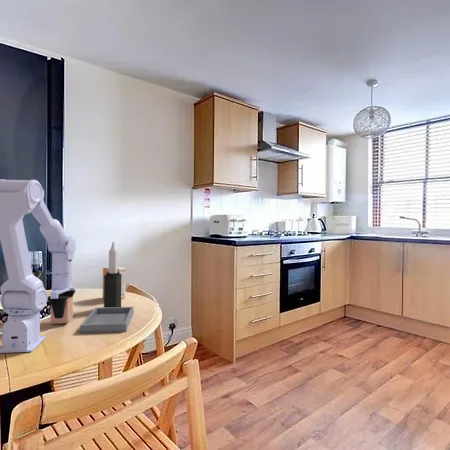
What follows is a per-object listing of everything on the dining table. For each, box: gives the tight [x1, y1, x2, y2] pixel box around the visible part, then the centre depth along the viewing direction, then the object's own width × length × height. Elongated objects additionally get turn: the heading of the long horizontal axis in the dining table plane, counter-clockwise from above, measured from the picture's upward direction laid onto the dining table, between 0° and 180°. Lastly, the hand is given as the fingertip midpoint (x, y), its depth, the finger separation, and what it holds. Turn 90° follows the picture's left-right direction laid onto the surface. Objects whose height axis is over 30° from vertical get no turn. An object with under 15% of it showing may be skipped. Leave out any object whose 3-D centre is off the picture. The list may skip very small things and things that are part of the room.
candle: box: [103, 241, 122, 307], centre depth 121 cm, size 5×5×25 cm
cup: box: [50, 296, 74, 324], centre depth 104 cm, size 5×5×7 cm
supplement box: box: [102, 266, 127, 301], centre depth 135 cm, size 8×5×13 cm, turn 73°
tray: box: [80, 306, 135, 334], centre depth 106 cm, size 18×13×2 cm
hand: (61, 315), depth 104 cm, fingers closed on cup, 5 cm apart
